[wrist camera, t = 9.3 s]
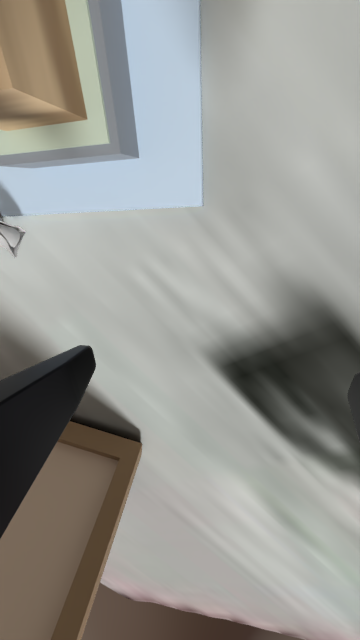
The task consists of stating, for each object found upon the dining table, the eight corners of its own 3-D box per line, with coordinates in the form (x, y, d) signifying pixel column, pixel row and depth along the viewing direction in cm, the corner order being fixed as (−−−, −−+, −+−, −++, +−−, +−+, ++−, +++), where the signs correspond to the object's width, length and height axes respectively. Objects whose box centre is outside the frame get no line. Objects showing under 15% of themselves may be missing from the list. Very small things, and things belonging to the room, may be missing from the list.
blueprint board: (197, -157, 11) (195, -175, 10) (203, 205, 17) (202, 206, 17) (-91, -58, 14) (-104, -68, 13) (7, 215, 20) (1, 216, 20)
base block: (116, -35, 12) (82, -98, 10) (139, 158, 16) (119, 153, 13) (-17, 0, 14) (-80, -45, 11) (32, 168, 18) (-6, 165, 15)
